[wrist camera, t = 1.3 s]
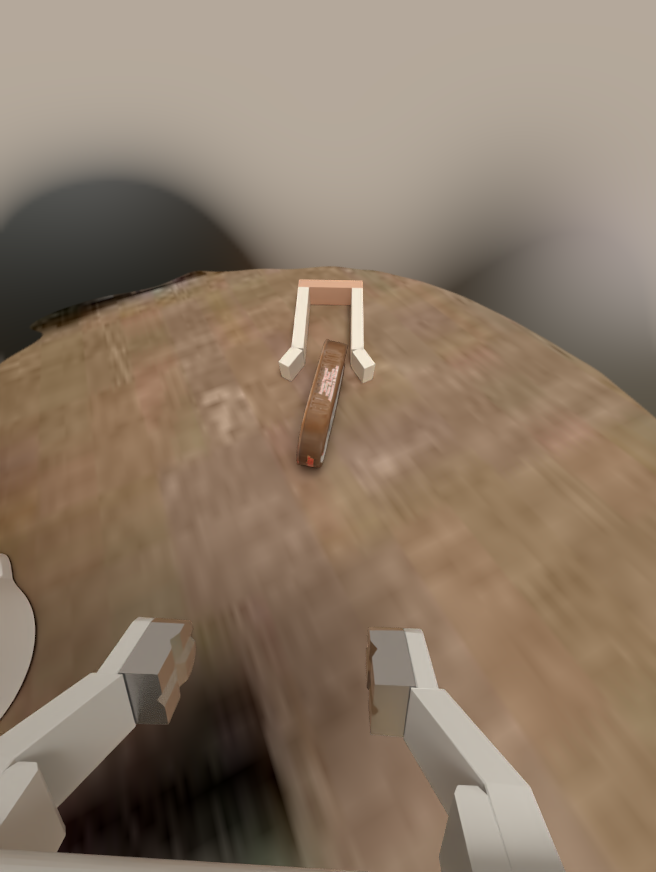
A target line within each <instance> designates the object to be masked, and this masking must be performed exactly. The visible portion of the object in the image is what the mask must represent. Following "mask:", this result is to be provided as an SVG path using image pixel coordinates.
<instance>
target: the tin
mask: <svg viewBox="0 0 656 872" xmlns="http://www.w3.org/2000/svg"><path fill="white" fill-rule="evenodd" d="M347 349H348V345H347V344H344V343H340V342H335V341H330V340H329V339H326V340H325V342H324V345H323V348H322V351H321V355H320V358H319V362H318V365H317V369H316V373H315V376H314V380H313V383H312V387H311V390H310V394H309V397H308V401H307V404H306V408H305V411H304V416H303V420H302V424H301V429H300V435H299V440H298V447H297V459H296V461H297V464H298V465H300V464H301V465H306V466H310V467H316V468H319V467H321V466H322V464H323V461H324V457H325V453H326V449H327V445H328V441H329V437H330V433H331V429H332V425H333V421H334V417H335V412H336V408H337V403H338V398H339V393H340V389H341V384H342V379H343V374H344V367H345V364H344V361H345V357H346V353H347Z"/></svg>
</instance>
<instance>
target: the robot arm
mask: <svg viewBox="0 0 656 872" xmlns="http://www.w3.org/2000/svg"><path fill="white" fill-rule="evenodd" d="M192 631H193V626H192V621H190V620H180V619H166V618H148V617H138V618H137V619H135V620H134V621H133V622H132V623H131V625H130V626H129V628H128V629H127V630H126V632H125V633H124V635H123V636H122V637H121V639H120V640H119V642H118V643H117V645H116V646H115V647H114V649H113V650H112V652H111V653H110V654H109V656H108V657H107V659H106V660H105V662H104V663H103V664H102V666H101V667H100V669H99V670H98V671H97V673H90V674H89V675H87V676H86V677H84V678H83V679H81V680H80V681H79V682H77V683H76V684H74V685H73V686H71V687H70V688H69V689H67V690H66V691H64V692H63V693H62V694H60V695H59V696H57V697H56V698H54V699H53V700H52V701H50V702H49V703H47V704H46V705H44V706H43V707H42V708H40V709H39V710H37V711H36V712H34V713H33V714H32V715H30V716H29V717H27V718H26V719H24V720H23V721H22V722H20V723H19V724H17V725H16V726H15V727H13V728H12V729H10V730H9V731H7V732H6V733H5V734H3V735H2V736H0V872H366V871H350V870H333V869H317V868H301V867H285V866H269V865H252V864H236V863H220V862H204V861H188V860H172V859H155V858H139V857H123V856H106V855H90V854H74V853H57V851H58V849H59V847H60V845H61V843H62V841H63V839H64V837H65V835H66V832H65V825H64V823H63V821H62V819H61V816H60V814H59V812H58V809H57V807H58V806H59V805H60V804H61V803H62V802H63V801H64V800H65V799H66V798H67V797H68V796H69V795H70V794H71V793H72V792H73V791H74V790H75V789H76V788H77V787H78V786H79V785H80V784H81V782H82V781H83V780H84V779H85V778H86V777H87V776H88V775H89V774H90V773H91V772H92V771H93V770H94V769H95V768H96V767H97V766H98V765H99V764H100V763H101V762H102V761H103V760H104V759H105V758H106V757H107V756H108V754H109V753H110V752H111V751H112V750H113V749H114V748H115V747H116V746H117V745H118V744H119V743H120V742H121V741H122V740H123V739H124V738H125V737H126V736H127V735H128V734H129V733H130V732H131V731H132V730H133V729H134V728H135V727H136V724H169V722H170V720H171V717H172V715H173V713H174V711H175V708H176V706H177V704H178V701H179V699H180V697H181V696H180V690H179V687H180V686H181V685H182V684H183V683H184V682H185V681H187V680H188V678H189V676H190V673H191V671H192V668H193V664H194V660H195V656H196V644H195V640H194V639H193V638H192V637H191V636H190V635H191V633H192ZM34 642H35V621H34V615H33V611H32V608H31V606H30V603H29V601H28V599H27V598H26V596H25V595H24V594H23V592H22V591H21V590H20V589H19V588H18V587H17V585H16V584H15V582H14V581H13V578H12V570H11V565H10V561H9V558H8V557H7V555H5V554H2V553H0V719H1V717H2V716H3V715H4V713H5V712H6V710H7V709H8V708H9V706H10V704H11V703H12V701H13V700H14V698H15V696H16V694H17V693H18V691H19V689H20V687H21V685H22V683H23V680H24V678H25V676H26V673H27V671H28V668H29V665H30V661H31V658H32V653H33V648H34ZM367 642H368V647H367V648H366V683H367V688H368V690H369V701H368V709H369V721H370V733H371V735H383V736H395V737H404V741H405V742H406V744H407V746H408V748H409V749H410V751H411V753H412V754H413V756H414V758H415V759H416V761H417V763H418V765H419V766H420V768H421V770H422V771H423V773H424V775H425V776H426V778H427V780H428V782H429V783H430V785H431V787H432V788H433V790H434V792H435V793H436V795H437V797H438V799H439V800H440V802H441V804H442V805H443V807H444V809H445V811H446V812H447V814H448V816H449V817H448V821H447V825H446V829H445V833H444V837H443V842H442V846H441V850H440V854H439V861H440V866H441V872H565V870H564V867H563V865H562V862H561V860H560V858H559V855H558V853H557V850H556V848H555V845H554V843H553V841H552V838H551V836H550V833H549V831H548V829H547V826H546V824H545V821H544V819H543V816H542V814H541V812H540V809H539V807H538V804H537V802H536V800H535V797H534V795H533V792H532V790H531V787H530V786H529V785H528V784H527V783H526V782H525V780H524V779H523V778H522V777H521V776H520V775H519V774H518V772H517V771H516V770H515V769H514V768H513V767H512V766H511V764H510V763H509V762H508V761H507V760H506V759H505V758H504V756H503V755H502V754H501V753H500V752H499V751H498V750H497V749H496V747H495V746H494V745H493V744H492V743H491V742H490V741H489V739H488V738H487V737H486V736H485V735H484V734H483V733H482V731H481V730H480V729H479V728H478V727H477V726H476V725H475V723H474V722H473V721H472V720H471V719H470V718H469V717H468V715H467V714H466V713H465V712H464V711H463V710H462V709H461V707H460V706H459V705H458V704H457V703H456V702H455V701H454V699H453V698H452V697H451V696H450V695H449V694H448V693H447V691H446V690H445V689H439V688H438V684H437V681H436V677H435V673H434V670H433V666H432V663H431V659H430V655H429V652H428V648H427V645H426V641H425V637H424V634H423V631H422V630H421V629H412V628H403V629H402V628H391V627H368V632H367Z"/></svg>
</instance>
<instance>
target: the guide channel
mask: <svg viewBox="0 0 656 872" xmlns="http://www.w3.org/2000/svg"><path fill="white" fill-rule="evenodd" d="M310 304H317V305H351V337H350V365H351V368H352V369H353V371H354V372H355V373H356V375H357V376H358V378H359V379H360V381H361V382H362V383H365V382H367V381H369V380H371V379H373V374H374V368H375V363H374V362H373V360H372V359H371V358H370V356H369V355H368V354H367V352H366V351H365V350H364V346H363V281H352V280H299V285H298V294H297V303H296V312H295V321H294V330H293V338H292V347H291V348H290V349H289V350H288V351H287V352H286V354H285V355H284V356H283V357H282V358H281V359H280V360H279V367H280V371H281V375H282V377H283V378H285V379H287V380H289V381H292V380H293V379H294V378H295V376H296V375H297V374H298V373H299V372H300V370H301V369H302V368H303V367H304V364H305V359H306V348H307V336H308V325H309V313H310Z"/></svg>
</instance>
